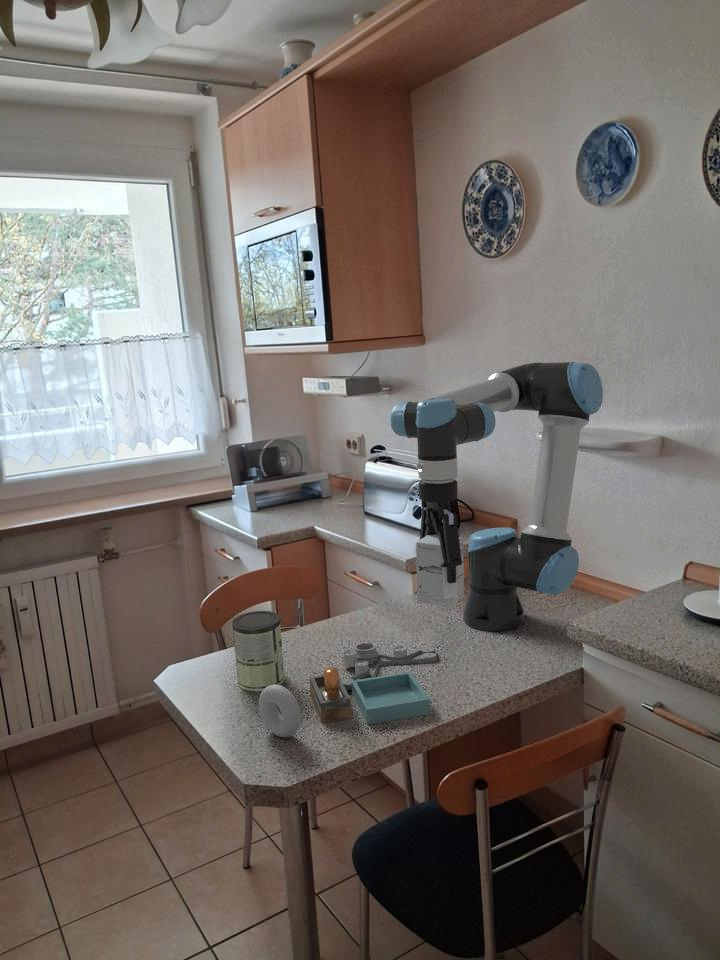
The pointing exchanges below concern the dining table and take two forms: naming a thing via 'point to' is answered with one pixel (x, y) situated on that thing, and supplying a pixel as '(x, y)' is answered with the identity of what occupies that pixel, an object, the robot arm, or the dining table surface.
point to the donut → (287, 705)
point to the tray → (390, 697)
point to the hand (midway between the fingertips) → (440, 588)
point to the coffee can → (258, 650)
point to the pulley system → (369, 655)
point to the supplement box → (435, 572)
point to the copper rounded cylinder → (331, 684)
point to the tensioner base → (329, 701)
